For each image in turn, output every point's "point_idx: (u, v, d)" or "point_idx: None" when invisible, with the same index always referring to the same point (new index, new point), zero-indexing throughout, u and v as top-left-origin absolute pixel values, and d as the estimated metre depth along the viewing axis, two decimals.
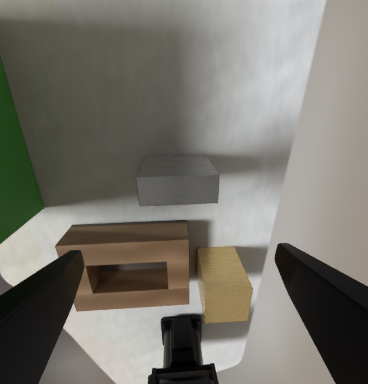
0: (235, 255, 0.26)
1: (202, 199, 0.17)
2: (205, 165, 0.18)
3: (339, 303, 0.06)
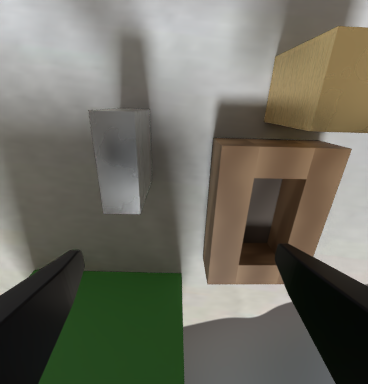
0: (285, 56, 0.15)
1: (129, 135, 0.12)
2: None
3: (339, 303, 0.06)
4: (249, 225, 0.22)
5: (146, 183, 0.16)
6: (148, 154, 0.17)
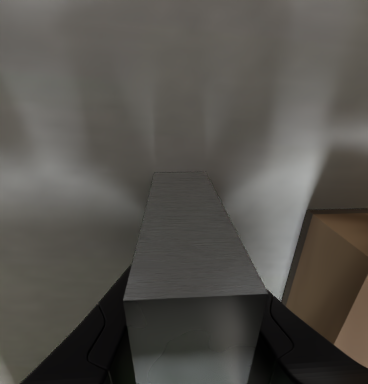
0: None
1: (238, 341, 0.04)
2: None
3: None
4: None
5: None
6: None
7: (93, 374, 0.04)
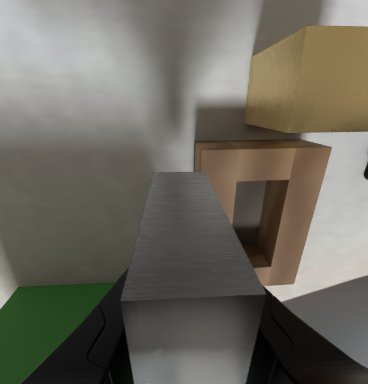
0: (260, 57, 0.15)
1: (236, 342, 0.04)
2: None
3: None
4: (237, 228, 0.22)
5: None
6: None
7: (93, 374, 0.04)
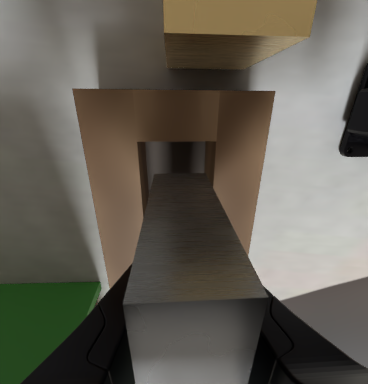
0: None
1: (238, 345, 0.04)
2: None
3: None
4: None
5: None
6: None
7: (93, 374, 0.04)
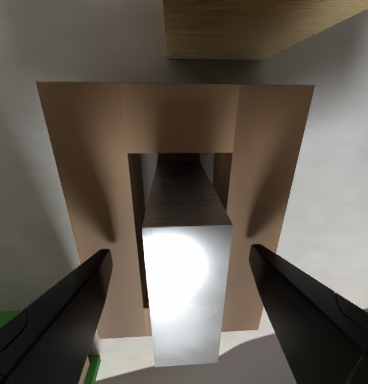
0: None
1: (216, 262, 0.06)
2: None
3: (299, 305, 0.06)
4: None
5: None
6: None
7: None
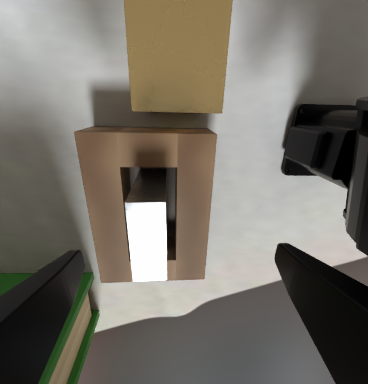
0: None
1: (159, 220, 0.13)
2: None
3: (339, 303, 0.06)
4: None
5: None
6: None
7: None
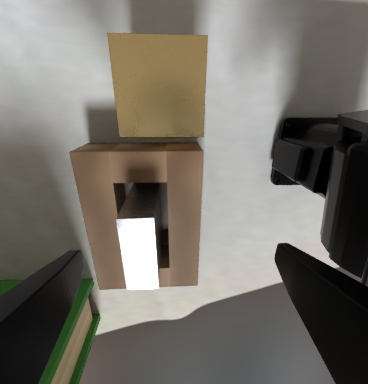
0: None
1: (149, 234, 0.14)
2: None
3: (339, 303, 0.06)
4: None
5: (160, 251, 0.19)
6: None
7: None
